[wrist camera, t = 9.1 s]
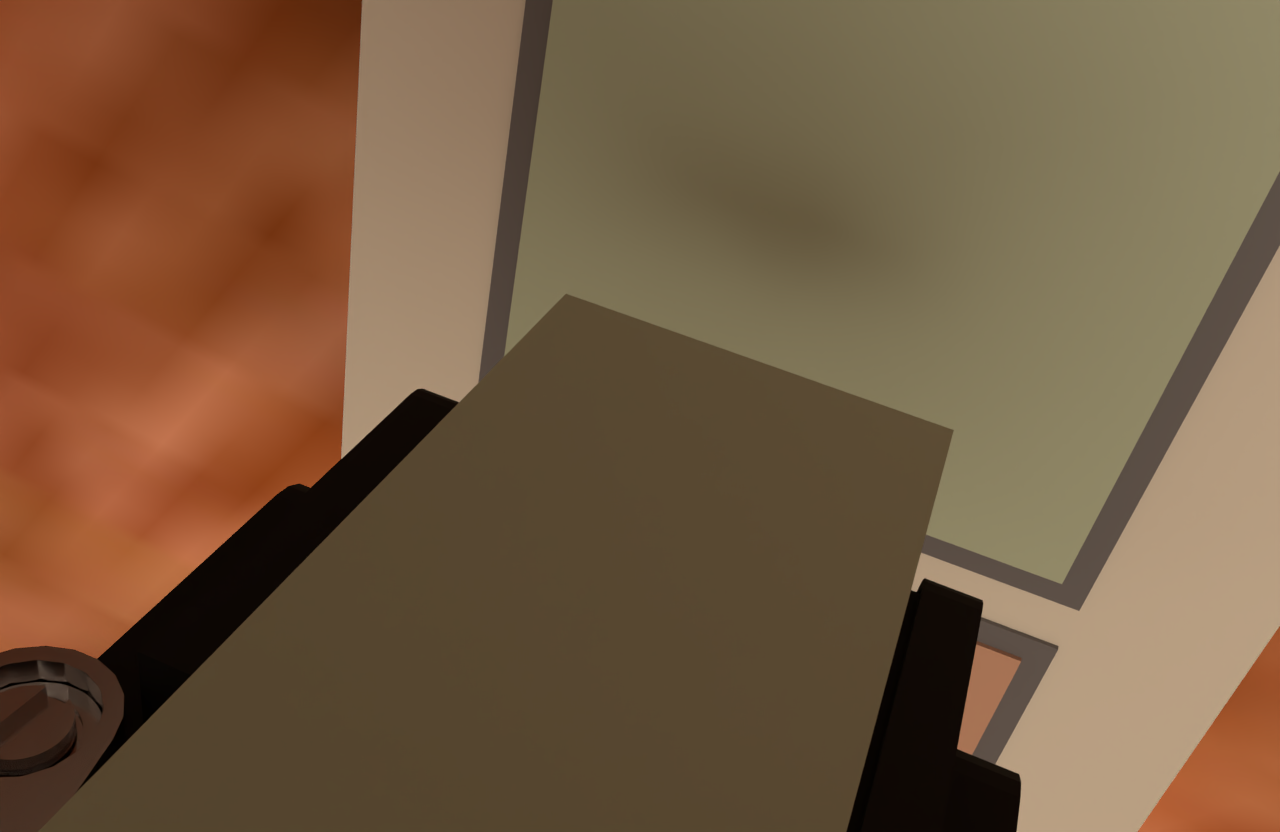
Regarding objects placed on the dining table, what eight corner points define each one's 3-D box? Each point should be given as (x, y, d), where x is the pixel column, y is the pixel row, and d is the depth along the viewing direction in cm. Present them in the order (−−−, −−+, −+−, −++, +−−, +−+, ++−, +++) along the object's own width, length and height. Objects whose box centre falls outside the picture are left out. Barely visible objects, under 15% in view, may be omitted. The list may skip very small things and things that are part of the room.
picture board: (414, -392, 18) (373, -395, 17) (1722, -79, 15) (1761, -61, 14) (347, 734, 33) (323, 766, 32) (989, 1015, 30) (984, 1060, 29)
